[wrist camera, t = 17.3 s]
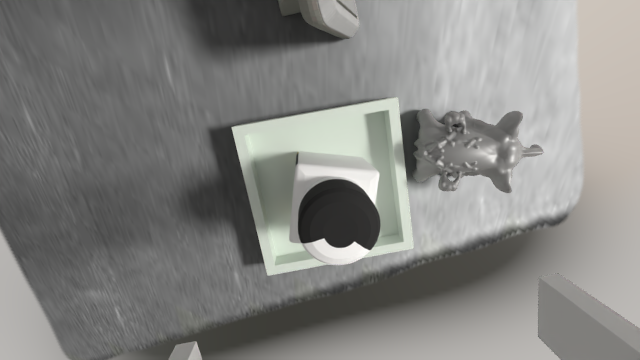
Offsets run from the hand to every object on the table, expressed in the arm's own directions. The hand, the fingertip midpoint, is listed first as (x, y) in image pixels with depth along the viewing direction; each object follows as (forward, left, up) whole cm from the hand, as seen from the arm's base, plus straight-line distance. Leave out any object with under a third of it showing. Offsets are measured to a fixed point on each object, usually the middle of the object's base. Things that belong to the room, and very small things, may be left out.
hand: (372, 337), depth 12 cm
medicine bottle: (0, 0, -23) cm, 23 cm away
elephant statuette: (-2, +15, -24) cm, 28 cm away
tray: (0, 0, -23) cm, 23 cm away
